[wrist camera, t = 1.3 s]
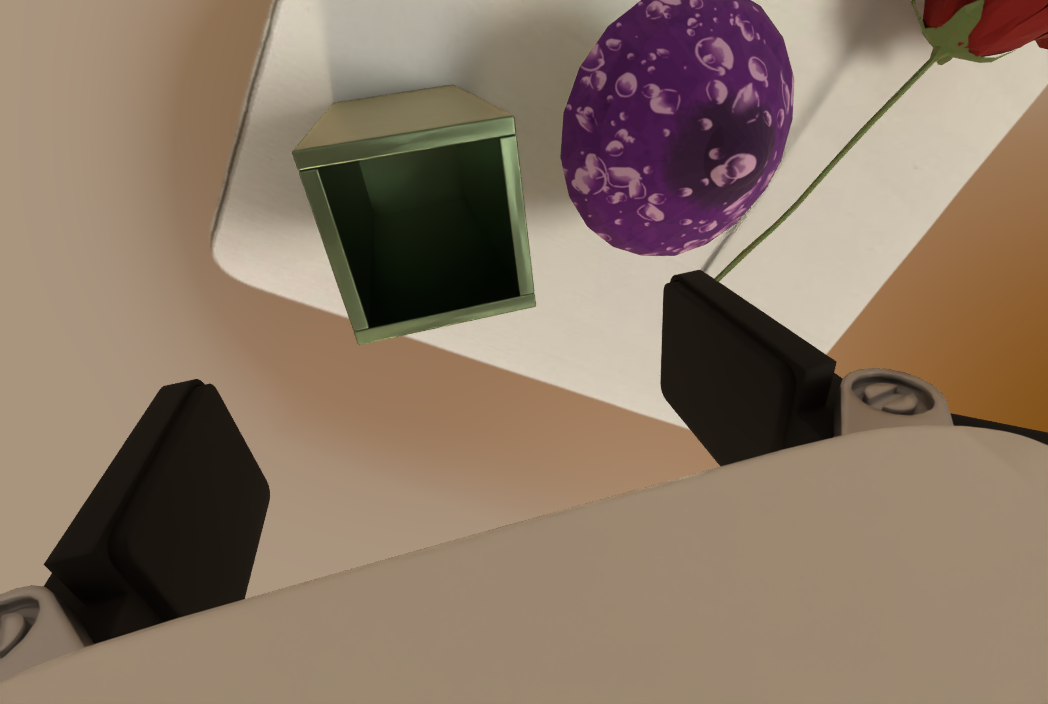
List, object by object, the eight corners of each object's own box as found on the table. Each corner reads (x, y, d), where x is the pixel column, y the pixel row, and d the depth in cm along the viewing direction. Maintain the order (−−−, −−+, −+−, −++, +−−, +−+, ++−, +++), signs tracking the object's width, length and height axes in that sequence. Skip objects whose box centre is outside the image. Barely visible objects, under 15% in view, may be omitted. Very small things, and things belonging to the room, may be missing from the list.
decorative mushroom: (584, -52, 28) (750, -133, 15) (737, 73, 33) (952, 88, 21) (483, 161, 32) (548, 234, 20) (632, 241, 38) (757, 337, 25)
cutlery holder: (332, 102, 29) (291, 151, 15) (454, 84, 30) (514, 115, 16) (367, 223, 32) (358, 345, 19) (474, 203, 33) (536, 306, 20)
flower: (645, 347, 36) (1110, -138, 22) (605, 270, 44) (926, -124, 29) (741, 393, 41) (1172, 24, 27) (690, 316, 49) (1001, -1, 34)
